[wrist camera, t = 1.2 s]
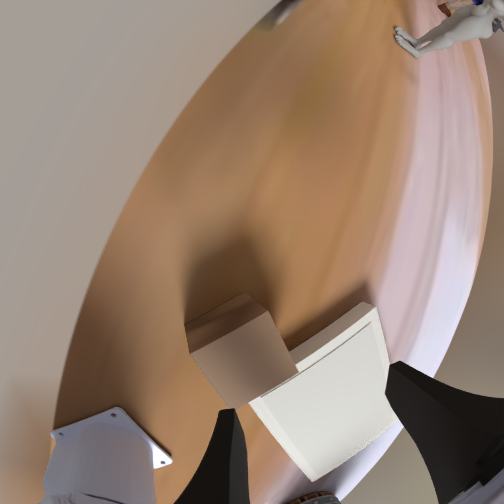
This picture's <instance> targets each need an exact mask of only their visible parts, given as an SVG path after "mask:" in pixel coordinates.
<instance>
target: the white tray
mask: <svg viewBox="0 0 504 504" xmlns="http://www.w3.org/2000/svg"><path fill="white" fill-rule="evenodd" d="M289 353H290V355H291V357H292V359H293V361H294V363H295V365H296V367H297V369H298V371H299V373H297V374H296V375H294V376H293V377H291V378H289V379H288V380H286V381H285V382H283V383H281V384H280V385H278V386H276V387H275V388H273V389H271V390H270V391H268V392H266V393H264V394H263V395H261V396H259V397H257V398H256V399H254V400H252V401H250V402H248V403H249V404H250V405H251V407H252V408H253V409H254V411H255V412H256V414H257V415H258V416H259V418H260V419H261V420H262V422H263V423H264V424H265V426H266V427H267V428H268V429H269V431H270V432H271V433H272V435H273V436H274V437H275V438H276V440H277V441H278V442H279V444H280V445H281V446H282V447H283V448H284V450H285V451H286V452H287V453H288V455H289V456H290V457H291V458H292V459H293V461H294V462H295V463H296V464H297V465H298V467H299V468H300V469H301V470H302V471H303V472H304V473H305V475H306V476H307V477H308V478H309V479H310V480H311V481H312V482H314V481H315V480H317V479H319V478H320V477H322V476H324V475H325V474H327V473H329V472H330V471H332V470H333V469H335V468H336V467H338V466H339V465H341V464H342V463H344V462H345V461H347V460H348V459H350V458H351V457H352V456H354V455H355V454H357V453H358V452H359V451H361V450H362V449H363V448H365V447H366V446H367V445H369V444H370V443H371V442H372V441H374V440H375V439H376V438H377V437H379V436H380V435H381V434H382V433H383V432H385V431H386V430H387V429H388V428H389V427H391V426H392V425H393V424H394V423H395V422H396V421H397V420H398V417H397V416H396V414H395V413H394V411H393V410H392V408H391V406H390V404H389V402H388V400H387V398H386V396H385V389H386V383H387V377H388V370H389V365H390V363H389V358H388V353H387V349H386V344H385V340H384V336H383V332H382V328H381V324H380V320H379V316H378V312H377V308H376V306H373V305H370V304H368V303H365V302H360V303H359V304H358V305H356V306H355V307H354V308H352V309H351V310H350V311H348V312H347V313H346V314H344V315H343V316H341V317H340V318H339V319H337V320H336V321H334V322H333V323H332V324H330V325H329V326H327V327H326V328H324V329H323V330H322V331H320V332H319V333H317V334H316V335H314V336H313V337H311V338H310V339H308V340H307V341H305V342H304V343H302V344H300V345H299V346H297V347H296V348H294V349H293V350H291V351H290V352H289Z"/></svg>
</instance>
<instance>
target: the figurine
mask: <svg viewBox="0 0 504 504" xmlns="http://www.w3.org/2000/svg"><path fill="white" fill-rule="evenodd" d="M494 18H499V19H502V20H504V0H484V1H483V3H482V4H481V5H478V6H466V7H462V8H460V9H459V10H457V11H456V12H454V13H453V14H452V15H451V16H450V17H449V18H447V19H445V20H443V21H442V22H441V24H440V25H438V26H437V27H435V28H433V29H432V30H430V31H429V32H428V33H427V34H425V35H424V36H422V37H421V38H419V39H415V38H413V37H411V36H410V35H409V34H408V33H407V32H405V31H404V30H402V29H401V28H400V27H396V28H395V31H397V34H398V35H401V36H402V37H401V36H398V35H396V36H395V39H396V41H398V42H397V43H399V45H400V46H402V47H403V48H405V49H406V50H408V51H409V52H410V53H411V54H413V56H414V57H416V58H420V57H421V56H422V54H424V53H426V52H429V51H436V50H444V49H448V48H450V47H451V46H452V45H453V44H454V42H460V41H467V40H473V39H477V38H488V37H490V36H491V35H492V21H493V19H494ZM403 38H405V39H407V40H409V41H410V42H411V44H412V45H413V46H414V47H415V48H414V47H412V46H411V45H410V44H409V43H407V42H406V41H405V40H404V39H403ZM428 41H431V42H430V43H429V44H427V45H426V46H424V47H422V48H420V49H416V48H419V47H420V46H421V44H423V43H425V42H428Z"/></svg>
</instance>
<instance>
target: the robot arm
mask: <svg viewBox="0 0 504 504" xmlns="http://www.w3.org/2000/svg"><path fill="white" fill-rule="evenodd" d="M385 396H386V398H387V400H388V402H389V404H390V406H391V408H392V410H393V411H394V413H395V414H396V416H397V417H398V419H399V420H400V421H401V423H402V424H403V426H404V427H405V429H406V430H407V431H408V433H409V434H410V436H411V437H412V439H413V440H414V442H415V443H416V445H417V447H418V449H419V451H420V453H421V455H422V457H423V459H424V461H425V464H426V466H427V468H428V471H429V473H430V476H431V479H432V481H433V484H434V487H435V491H436V494H437V498H438V502H439V504H504V398H493V397H487V396H481V395H476V394H472V393H469V392H465V391H462V390H459V389H456V388H454V387H451V386H449V385H446V384H444V383H441V382H439V381H437V380H435V379H433V378H431V377H429V376H427V375H426V374H424V373H422V372H420V371H418V370H416V369H414V368H413V367H411V366H409V365H407V364H405V363H403V362H402V361H398V362H396V363H393V364H391V365H389V370H388V377H387V383H386V389H385ZM112 413H114V414H116V415H113V414H112ZM51 436H52V437H53V438H54V439H55V440H56V441H57V442H56V444H55V447H54V450H53V452H52V455H51V458H50V461H49V464H48V467H47V470H46V473H45V476H44V480H43V487H44V492H45V495H46V497H44V498H43V499H42V500H41V501H40V502H39V504H156V494H155V481H154V469H155V468H158V467H162V466H164V465H167V464H170V463H172V462H173V461H172V457H171V456H169V455H168V454H167V453H166V452H165V451H164V450H163V449H162V448H161V447H159V446H158V445H157V444H156V443H155V442H154V441H153V440H152V439H151V438H150V437H149V436H148V435H147V434H146V433H145V432H144V431H143V430H142V429H141V428H140V427H139V426H138V425H137V424H136V423H135V422H134V421H133V420H132V419H131V418H130V417H129V415H128V414H127V413H126V412H125V411H124V410H123V409H122V408H120V407H114V408H112V409H109V410H107V411H104V412H102V413H99V414H97V415H94V416H92V417H89V418H86V419H84V420H81V421H78V422H76V423H73V424H70V425H67V426H64V427H61V428H59V429H56V430H53V431H51ZM174 504H250V500H249V489H248V462H247V449H246V442H245V436H244V432H243V429H242V427H241V424H240V422H239V419H238V416H237V413H236V411H235V408H231V409H224V410H220V411H219V413H218V418H217V422H216V425H215V428H214V431H213V434H212V437H211V440H210V442H209V445H208V448H207V450H206V452H205V455H204V457H203V459H202V461H201V463H200V465H199V467H198V469H197V471H196V472H195V474H194V476H193V478H192V479H191V481H190V482H189V484H188V485H187V487H186V488H185V490H184V491H183V493H182V494H181V495H180V497H179V498H178V499H177V500H176V501H175V503H174Z"/></svg>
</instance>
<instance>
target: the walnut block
mask: <svg viewBox="0 0 504 504" xmlns="http://www.w3.org/2000/svg"><path fill="white" fill-rule="evenodd" d="M184 326H185V332H186V337H187V342H188V347H189V352H190V355H191V357H192V358H193V360H194V361H195V362H196V364H197V365H198V367H199V368H200V370H201V371H202V373H203V374H204V375H205V377H206V378H207V380H208V381H209V382H210V384H211V385H212V386H213V388H214V389H215V390H216V392H217V393H218V394H219V396H220V397H221V398H222V400H223V401H224V402H225V404H226V405H227V406H228V408H229V409H231V408H235V409H237V408H239V407H241V406H243V405H245V404H246V403H248V402H250V401H252V400H254V399H256V398H257V397H259V396H261V395H263V394H264V393H266V392H268V391H270V390H271V389H273V388H275V387H276V386H278V385H280V384H281V383H283V382H285V381H286V380H288V379H289V378H291V377H293V376H294V375H296V374H297V373H299V371H298V369H297V367H296V365H295V363H294V361H293V359H292V357H291V355H290V353H289V351H288V349H287V347H286V345H285V343H284V341H283V339H282V337H281V335H280V333H279V331H278V329H277V327H276V325H275V323H274V321H273V319H272V317H271V315H270V313H269V311H268V310H267V309H265V308H264V307H263V306H262V305H260V304H259V303H258V302H257V301H255V300H254V299H253V298H252V297H251V296H249V295H248V294H247V293H246V292H243V293H241V294H240V295H238V296H236V297H234V298H232V299H231V300H229V301H227V302H225V303H223V304H221V305H220V306H218V307H216V308H214V309H212V310H211V311H209V312H207V313H205V314H203V315H201V316H199V317H198V318H196V319H194V320H192V321H190V322H188V323H186V324H185V325H184Z"/></svg>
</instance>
